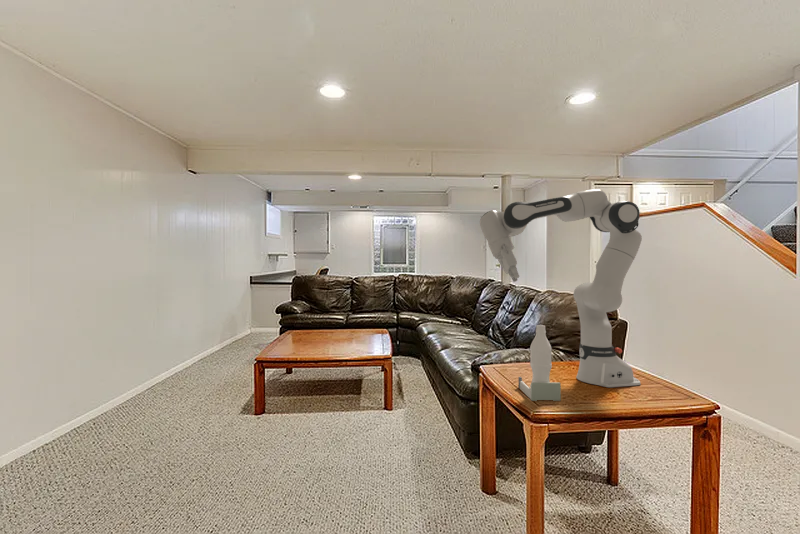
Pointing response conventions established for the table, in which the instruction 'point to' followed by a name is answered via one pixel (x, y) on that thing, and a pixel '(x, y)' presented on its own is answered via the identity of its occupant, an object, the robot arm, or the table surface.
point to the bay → (542, 390)
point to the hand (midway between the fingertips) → (516, 279)
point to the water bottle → (540, 356)
